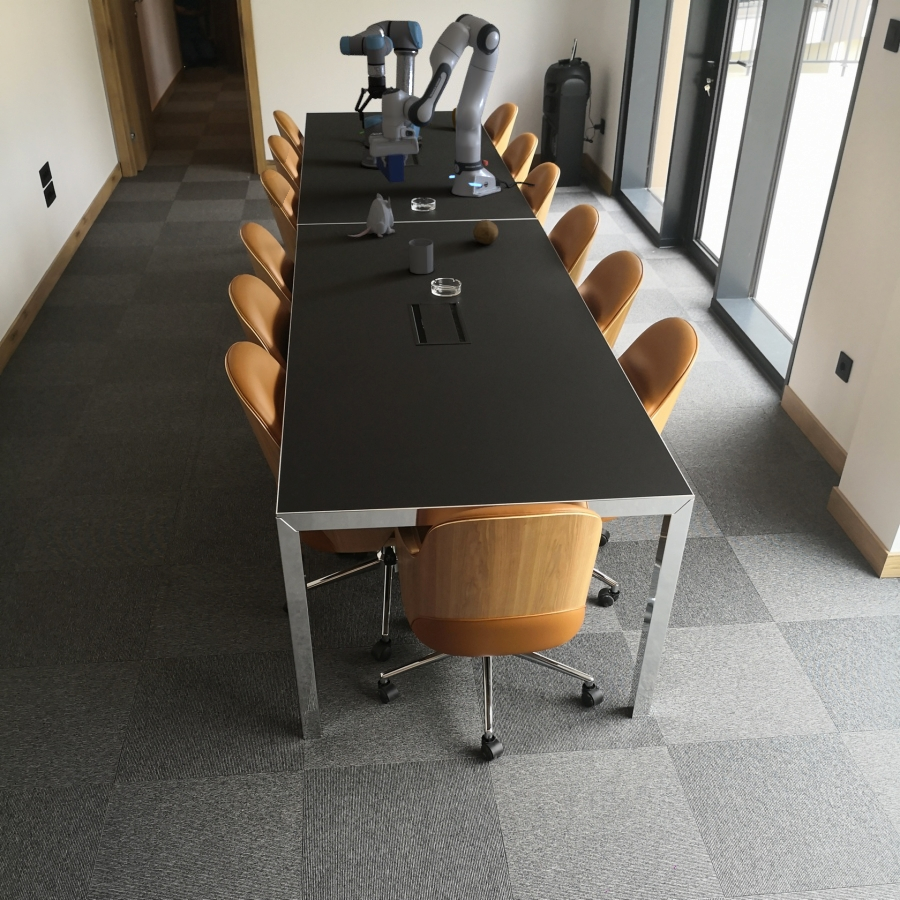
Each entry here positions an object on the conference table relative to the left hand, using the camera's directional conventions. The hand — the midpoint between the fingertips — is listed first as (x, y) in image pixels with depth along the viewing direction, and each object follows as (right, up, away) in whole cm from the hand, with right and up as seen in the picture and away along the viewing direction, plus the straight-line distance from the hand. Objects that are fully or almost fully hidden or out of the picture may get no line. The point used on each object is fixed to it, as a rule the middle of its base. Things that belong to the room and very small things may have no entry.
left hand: (378, 127), depth 379 cm
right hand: (+8, -23, -18) cm, 30 cm away
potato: (+45, -62, -47) cm, 89 cm away
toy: (0, -58, -42) cm, 72 cm away
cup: (+21, -77, -71) cm, 107 cm away
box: (+5, -22, -7) cm, 24 cm away
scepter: (-3, +24, +87) cm, 90 cm away
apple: (+38, +40, +112) cm, 124 cm away
